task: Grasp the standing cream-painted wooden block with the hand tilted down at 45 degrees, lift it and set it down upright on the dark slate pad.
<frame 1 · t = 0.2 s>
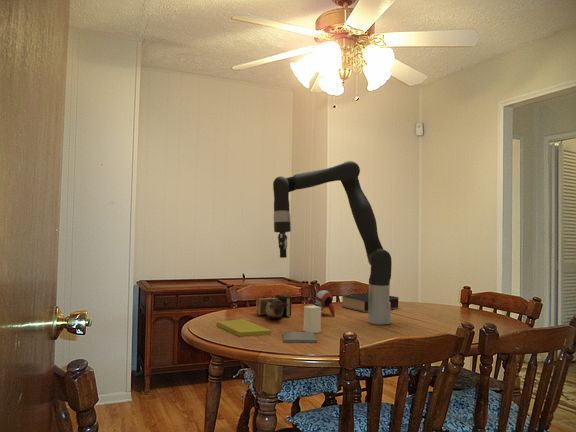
hand: (283, 257, 199), 28 cm above the table, tool pointing down, fingers open, 8 cm apart
slate pad: (299, 338, 169), on the table
toy: (318, 314, 219), on the table
flat olive board: (242, 331, 181), on the table
cream block: (311, 331, 181), on the table
bookend: (276, 318, 207), on the table
book 2: (370, 309, 239), on the table
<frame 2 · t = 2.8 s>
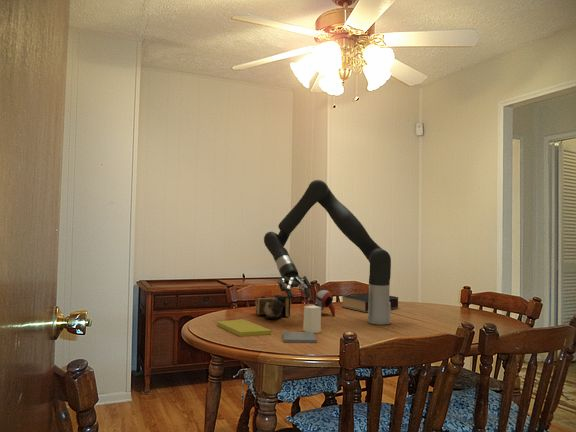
hand: (300, 297, 189), 12 cm above the table, tool tilted 45°, fingers open, 8 cm apart
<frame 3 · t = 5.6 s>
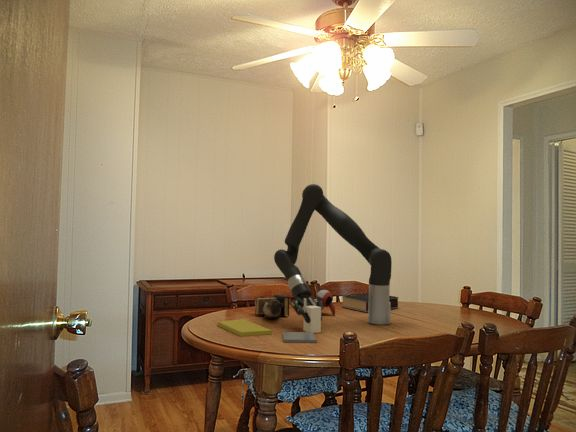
hand: (314, 321, 179), 4 cm above the table, tool tilted 45°, fingers closed on cream block, 5 cm apart
cream block: (311, 331, 181), on the table, touching gripper
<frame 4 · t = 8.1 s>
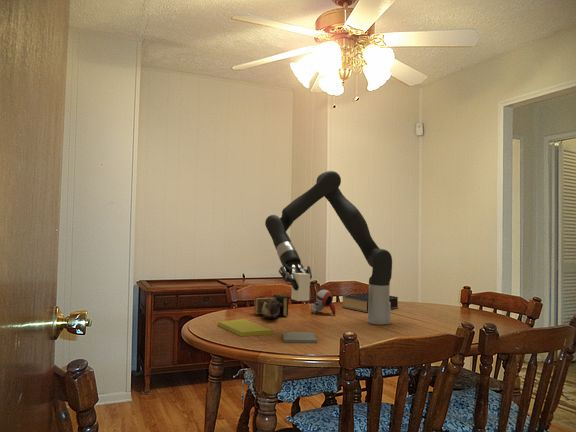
hand: (303, 288, 170), 19 cm above the table, tool tilted 45°, fingers closed on cream block, 5 cm apart
cream block: (300, 299, 172), point 14 cm above the table, touching gripper
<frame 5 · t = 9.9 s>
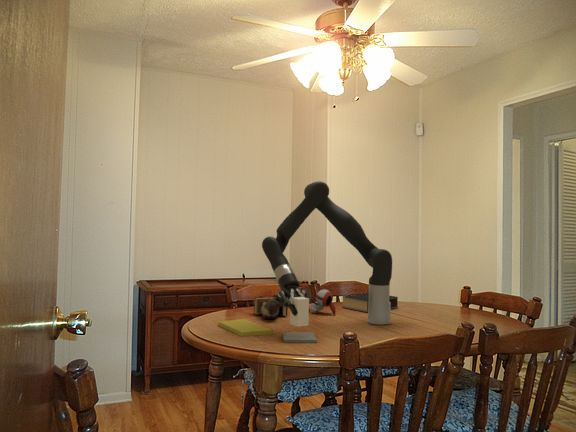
hand: (302, 313, 167), 10 cm above the table, tool tilted 45°, fingers closed on cream block, 5 cm apart
cream block: (299, 324, 169), point 5 cm above the table, touching gripper
when the fingers open (7 cm above the table, at t = 10.9 s): cream block drops 1 cm, resting on slate pad.
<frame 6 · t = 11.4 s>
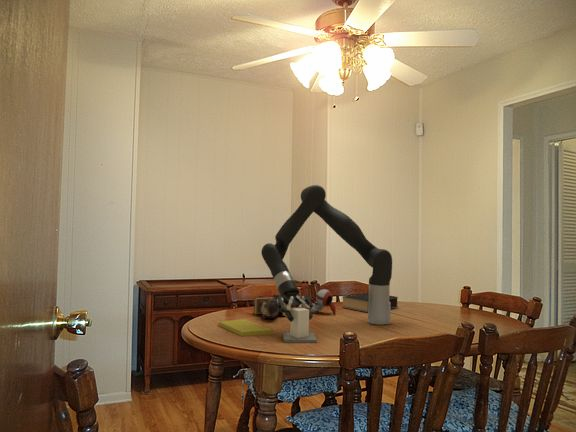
hand: (301, 319, 168), 7 cm above the table, tool tilted 45°, fingers open, 8 cm apart
cream block: (299, 335, 169), point 1 cm above the table, touching slate pad
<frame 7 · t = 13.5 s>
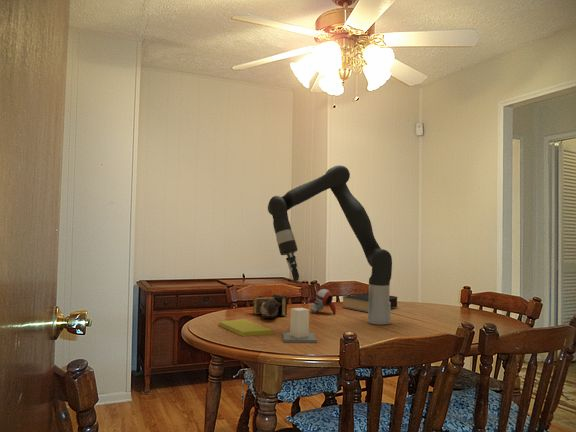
hand: (296, 279, 184), 21 cm above the table, tool tilted 20°, fingers open, 8 cm apart
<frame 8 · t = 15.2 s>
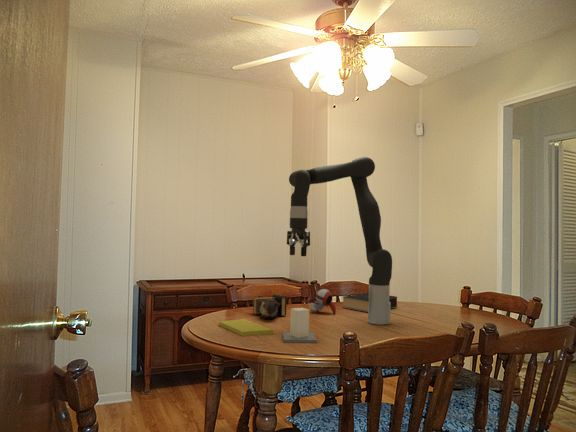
hand: (297, 255, 188), 30 cm above the table, tool pointing down, fingers open, 8 cm apart
at the end: cream block inside the target area on the slate pad (0.1 cm from its centre), point 1.0 cm above the slate pad's base; cream block tilted 0°; the gripper is holding nothing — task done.
